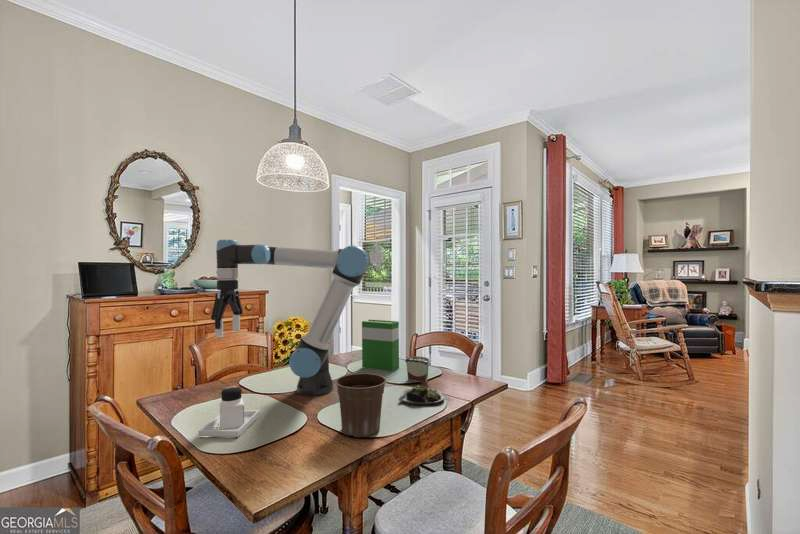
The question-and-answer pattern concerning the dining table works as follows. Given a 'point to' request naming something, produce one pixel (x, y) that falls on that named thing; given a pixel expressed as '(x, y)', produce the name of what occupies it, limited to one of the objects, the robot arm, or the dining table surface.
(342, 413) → the plant pot
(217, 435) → the tray
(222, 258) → the robot arm
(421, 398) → the salad plate
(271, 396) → the dining table surface
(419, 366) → the food container
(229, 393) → the medicine bottle
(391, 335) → the cereal box
